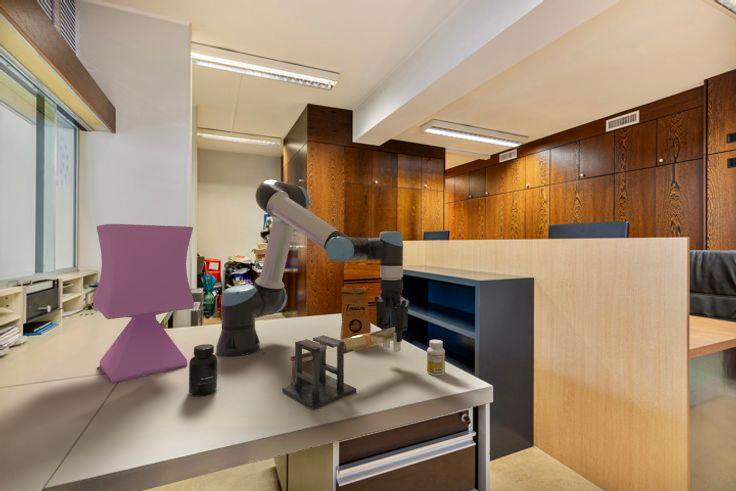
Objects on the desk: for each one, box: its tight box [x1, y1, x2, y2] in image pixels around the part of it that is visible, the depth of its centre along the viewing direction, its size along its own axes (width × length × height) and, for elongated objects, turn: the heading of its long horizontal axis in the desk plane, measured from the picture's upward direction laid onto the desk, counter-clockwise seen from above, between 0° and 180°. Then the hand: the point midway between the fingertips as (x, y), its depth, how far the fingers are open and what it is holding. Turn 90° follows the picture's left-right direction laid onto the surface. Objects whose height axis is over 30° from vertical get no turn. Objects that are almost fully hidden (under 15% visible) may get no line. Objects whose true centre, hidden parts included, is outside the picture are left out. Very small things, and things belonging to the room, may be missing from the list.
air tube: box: [339, 326, 395, 355], centre depth 104 cm, size 24×4×4 cm, turn 135°
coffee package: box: [339, 287, 372, 340], centre depth 138 cm, size 10×12×22 cm
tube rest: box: [290, 351, 312, 381], centre depth 101 cm, size 6×8×6 cm
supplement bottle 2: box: [426, 339, 446, 377], centre depth 104 cm, size 5×5×10 cm
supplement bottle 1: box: [188, 343, 218, 397], centre depth 90 cm, size 7×7×12 cm
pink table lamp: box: [93, 223, 195, 384], centre depth 109 cm, size 22×22×45 cm
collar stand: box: [282, 334, 357, 411], centre depth 90 cm, size 14×14×13 cm
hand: (391, 349), depth 111 cm, fingers closed on air tube, 4 cm apart
